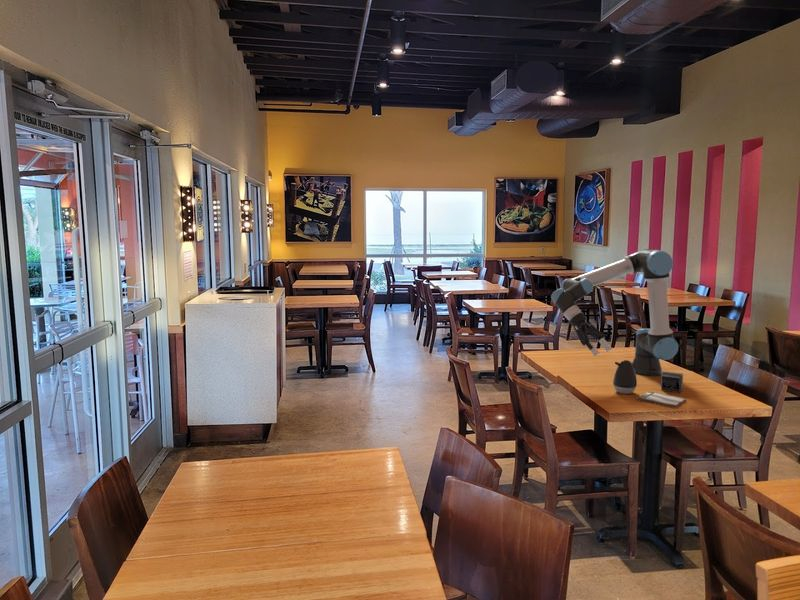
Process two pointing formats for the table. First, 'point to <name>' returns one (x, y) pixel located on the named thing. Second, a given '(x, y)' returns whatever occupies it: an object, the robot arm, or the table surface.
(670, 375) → the electrical switch
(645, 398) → the chart board
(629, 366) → the dark grey egg shape
